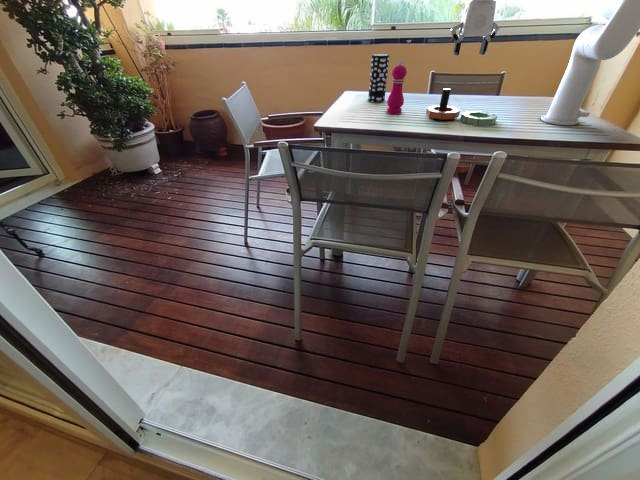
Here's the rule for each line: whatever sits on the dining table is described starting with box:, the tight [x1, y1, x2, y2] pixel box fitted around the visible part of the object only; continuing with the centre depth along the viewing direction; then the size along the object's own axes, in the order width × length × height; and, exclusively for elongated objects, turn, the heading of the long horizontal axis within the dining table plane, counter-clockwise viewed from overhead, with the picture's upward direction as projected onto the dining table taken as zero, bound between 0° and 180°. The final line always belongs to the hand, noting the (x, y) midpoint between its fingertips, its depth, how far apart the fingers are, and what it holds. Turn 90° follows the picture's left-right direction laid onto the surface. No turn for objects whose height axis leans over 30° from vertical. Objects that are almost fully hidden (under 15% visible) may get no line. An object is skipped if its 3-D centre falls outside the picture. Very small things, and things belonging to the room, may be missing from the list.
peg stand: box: [430, 87, 455, 121], centre depth 123 cm, size 8×8×11 cm
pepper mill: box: [386, 60, 408, 115], centre depth 127 cm, size 7×7×20 cm
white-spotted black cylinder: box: [367, 53, 390, 103], centre depth 146 cm, size 8×8×20 cm
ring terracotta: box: [425, 105, 461, 120], centre depth 125 cm, size 12×12×2 cm
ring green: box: [459, 110, 498, 127], centre depth 121 cm, size 12×12×2 cm
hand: (468, 54), depth 112 cm, fingers open, 9 cm apart
